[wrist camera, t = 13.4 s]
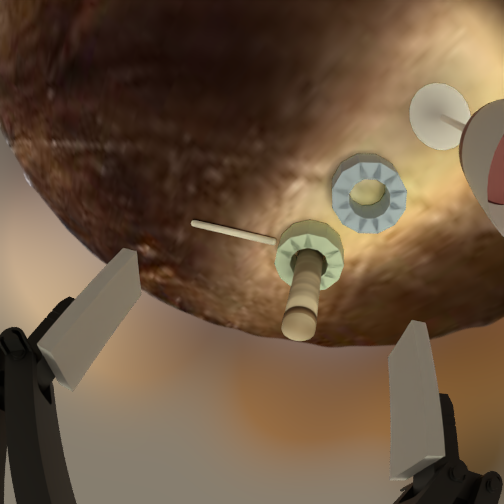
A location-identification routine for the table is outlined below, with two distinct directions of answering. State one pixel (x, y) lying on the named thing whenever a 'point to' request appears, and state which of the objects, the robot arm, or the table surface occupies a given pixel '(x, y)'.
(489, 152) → the wineglass
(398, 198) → the blue bead
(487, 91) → the table surface
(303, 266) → the wooden dowel
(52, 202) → the table surface
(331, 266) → the bead
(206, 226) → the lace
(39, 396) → the robot arm
